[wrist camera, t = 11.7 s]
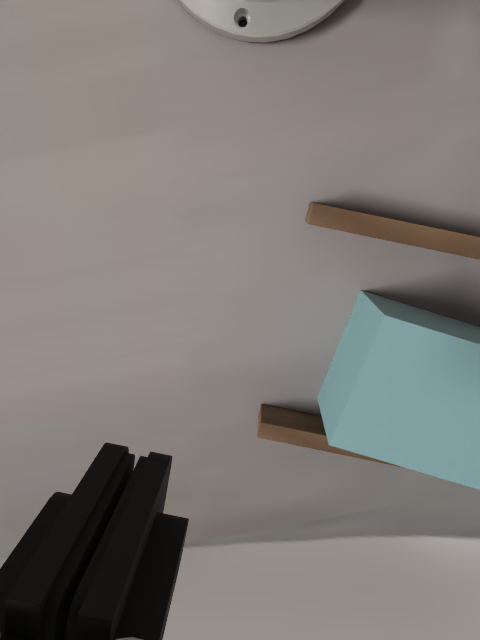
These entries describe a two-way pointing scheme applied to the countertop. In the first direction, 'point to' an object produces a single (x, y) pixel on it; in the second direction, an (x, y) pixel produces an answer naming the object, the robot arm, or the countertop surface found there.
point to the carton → (406, 390)
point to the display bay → (308, 426)
